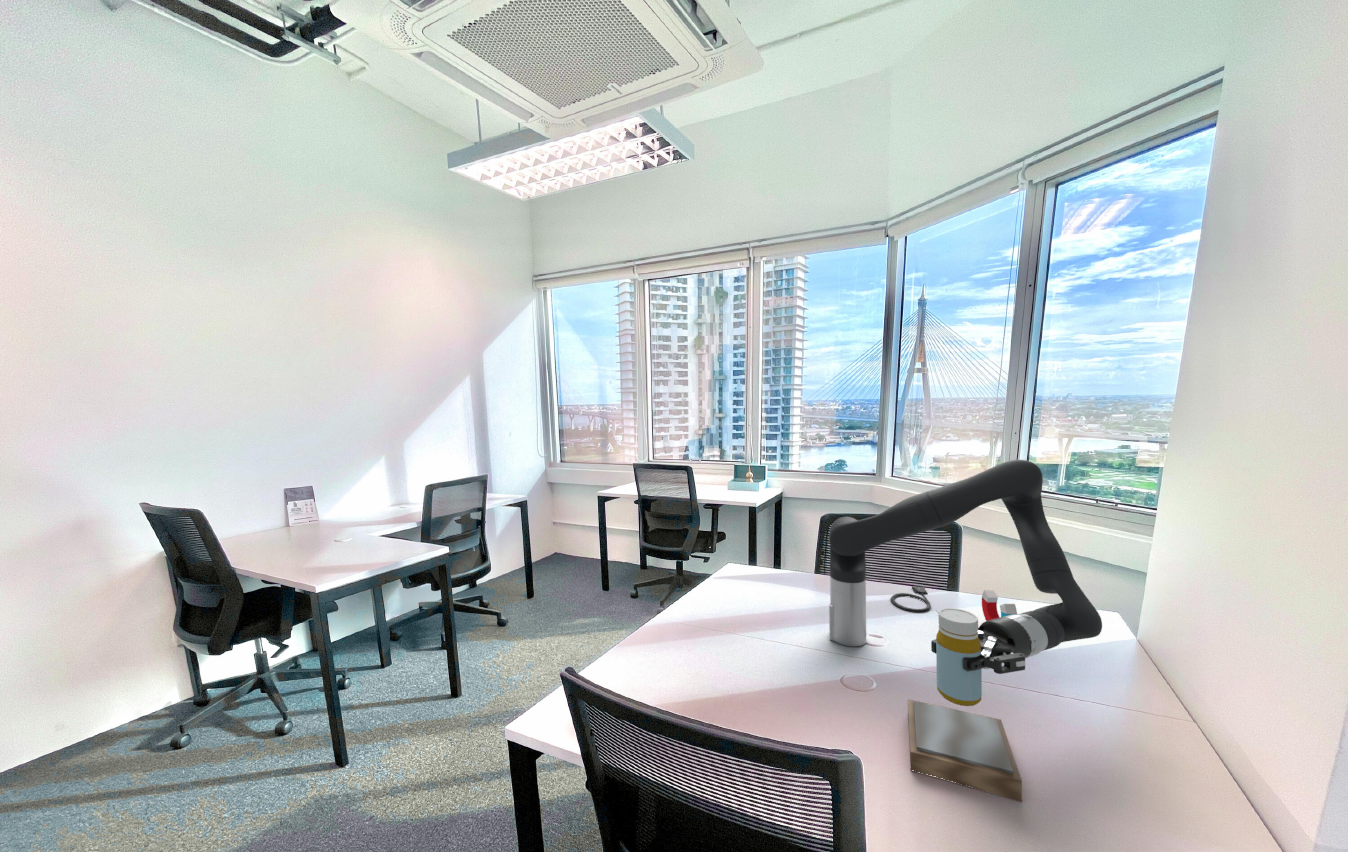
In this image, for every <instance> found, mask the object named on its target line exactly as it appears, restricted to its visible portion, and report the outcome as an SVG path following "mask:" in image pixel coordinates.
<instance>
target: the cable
mask: <svg viewBox="0 0 1348 852" xmlns="http://www.w3.org/2000/svg"><path fill="white" fill-rule="evenodd" d="M912 589H913V590H912ZM911 590H912V591H913V593H914V594H912V593H907V592H900V593H895V594H893V595H892V596H891V597H890V602H891V603H892V604H893V605H895V606H896V607H898V609H902V610H905V611H908V612H912V613H925V612H928V611H929V610H931V602H930V601H929V600H928V598H927V597H926V596H925V595H928V591H927V590H926V587H925V586H914V585H911ZM916 593H918V595H917V594H916ZM920 595H921V596H923V597H921V596H920ZM900 596H902V597H905V596H910V597H909V598H913V597H915V598H914V599H916V598H918V599H917V600H919V599H921V600H923V601H924V602H925V603H926V604H927V605H926V607H923V608H911V607H907V606H904V605H901V604H899V603H898V602H897V601H896V599H897V598H899V597H900ZM921 600H920V601H921ZM923 601H922V602H923ZM924 602H923V603H924ZM936 612H937V614H938V613H939V611H938V610H936Z"/></svg>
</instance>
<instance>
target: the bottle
mask: <svg viewBox="0 0 1348 852" xmlns="http://www.w3.org/2000/svg"><path fill="white" fill-rule="evenodd" d="M938 612H939V613H938ZM938 612H937V614H938V631H937V633H936V635H935V636H936V637H935V639H936V654H935V655H936V658H935V659H936V690H937V691H938V693H939V694H940V695H941V696H942V697H943V699H945V700H946V701H948V702H950V703H952V704H955V705H958V706H962V707H973V706H975V705H977V704H979V703H980V702H981V701H982V698H983V697H982V696H983V693H982V692H983V691H982V688H983V687H982V684H983V682H982V674H983V673H982V669H978V670H975V671H969V672H967V671H966V670H964V669H963V658H964V657H968V658H970V657H977V656H979V655H981V643H980V640H979V638H978V628H979V619H978V618H979V617H978V616H977V615H975V614H974V613H972V612H970V611H967V610H964V609H959V608H954V607H953V608H952V607H951V608H950V607H948V608H941V609H940V610H939V611H938Z"/></svg>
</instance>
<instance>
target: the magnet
mask: <svg viewBox="0 0 1348 852" xmlns="http://www.w3.org/2000/svg"><path fill="white" fill-rule="evenodd" d="M998 599H999V597H998V595H997V594H996V592H995V590H993V589H984V590H983V591H982V595H981V608H982V613H983V617H984V620H985V621H989V620H993V619H996V618H1000V617H1004V616H1008V615H1013V614H1018V612H1017V611H1018V610H1017V607H1016V604H1015V603H1003V604H1000V605H999V609H1000V615H999V611H998V606H997V605H998Z"/></svg>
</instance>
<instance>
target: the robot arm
mask: <svg viewBox="0 0 1348 852" xmlns="http://www.w3.org/2000/svg"><path fill="white" fill-rule="evenodd" d="M1043 478H1044V477H1043V473H1042V469H1040V466H1038V465H1037V464H1035V463H1034V462H1032V461H1030V460H1026V459H1011V460H1007V461H1004V462H1001V463H999V464H997V465H995V466H992V467H991V468H988V469H986V470H983V471H981V472H979V473H977V474H975V475H973V476H969V477H967V478H965V479H961V480H959V481H958V480H957V481H955V482H952V483H948V484H946V485H944V486H940V487H937V488H935V489H931V490H928V491H924V492H921V493H919V494H916V495H913V496H909V497H908V498H905V499H903V500H901V501H899V502H897V503H895V504H893V505H892V506H891V507H889V508H887V509H885V510H884V511H882V512H881V513H878V514H876V515H873V516H870V517H865V518H862V519H856V518H855V517H852V516H851V517H850V516H841V517H839V518H837V519H836V520H834V521H833V523H832V524H831V526H830V529H829V535H828V536H829V537H828V538H829V539H828V540H829V541H828V542H829V551H830V552H829V586H830V587H829V591H830V593H829V595H830V596H829V597H830V599H829V600H830V603H829V607H828V613H829V619H828V620H829V621H828V623H829V626H828V627H829V641H833V642H835V643H837V644H839V645H842V646H847V647H860V646H864V645H865V644H866V643H867V575H866V574H867V571H866V568H867V567H866V561H867V560H866V552H867V551H869V550H871V549H874V548H876V547H878V546H881V545H883V544H886V543H889V542H891V541H895V540H899V539H905V538H907V537H911V536H915V535H918V534H921V533H925V532H928V531H932V530H935V529H939V528H942V527H944V526H947V525H950V524H952V523H955V522H956V521H958V520H960V519H961V518H962V517H964V516H966V515H967V514H969V513H970V512H972V511H974V510H975V509H976V508H979V507H981V506H983V505H985V504H988V503H990V502H995V501H997V500H1001V501H1002V503H1003V504H1004V506H1005V507H1006V509H1007V511H1008V513H1009V515H1010V516H1011V520H1012V521H1013V524H1014V526H1015V529H1016V530H1017V534H1018V536H1019V540H1020V543H1021V547H1022V550H1023V553H1024V556H1025V559H1026V562H1027V565H1028V569H1029V571H1030V575H1031V577H1032V581H1033V583H1034V586H1035V587H1036V589H1037V590H1038V591H1039V592H1041V593H1044V594H1054V595H1057V596H1058V597H1060V599H1061V601H1062V602H1059V603H1054V604H1050V605H1047V606H1043V607H1042V606H1041V607H1039V608H1036V609H1033V610H1028V611H1025V612H1021V613H1017V614H1013V615H1008V616H1004V617H1001V616H999V617H1000V618H996V619H993V620H989V621H986V620H985V621H983V622H982V623H981V624H980V625H979V626H978V638H979V640H980V643H981V655H979V656H977V657H970V658H968V657H964V658H963V669H964V670H966V671H967V672H969V671H975V670H978V669H981V670H982V669H983V670H991V669H992V670H993V672H994V673H995V674H998V675H1002V674H1008V673H1014V672H1020V671H1021V672H1022V671H1025V670H1026V659H1027V658H1031V657H1033V656H1036V655H1038V654H1039V653H1041V652H1044V651H1047V650H1050V649H1053V648H1055V647H1058V646H1059V645H1060V644H1062V643H1065V642H1066V643H1067V642H1071V641H1078V640H1084V639H1086V640H1087V639H1091V638H1095V637H1098V636H1099V635H1100V634H1101V633H1102V629H1103V621H1102V617H1101V615H1100V613H1099V612H1098V610H1097V609H1096V607H1095V606H1094V605H1093V603H1092V602H1091V601H1090V600H1089V598H1088V597H1087V596H1086V594H1085V593H1084V591H1083V590H1082V589H1081V587H1080V586H1079V585H1078V583H1077V582H1076V581H1077V580H1075V578H1074V575H1073V572H1072V570H1071V568H1070V567H1071V566H1070V564H1069V562H1068V560H1067V557H1066V555H1065V553H1064V551H1063V548H1062V547H1061V545H1060V543H1059V541H1058V540H1057V538H1056V536H1055V535H1054V533H1053V531H1052V529H1051V528H1050V525H1049V523H1048V520H1047V518H1046V514H1045V511H1044V506H1043V499H1042V491H1043V483H1044V481H1043ZM930 644H931V646H930V647H931V649H930V650H931V652H932V653H934V654H935V655H936V638H935V639H932V640H931V643H930Z"/></svg>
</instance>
